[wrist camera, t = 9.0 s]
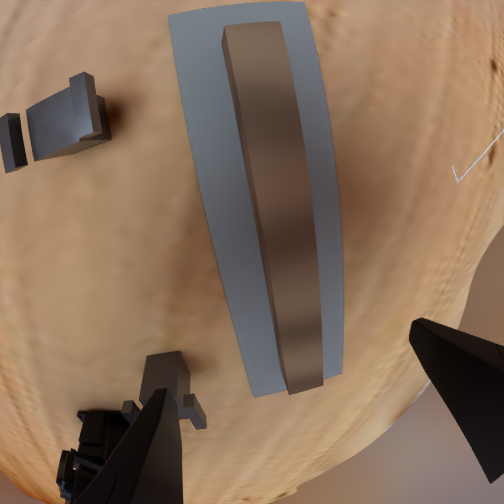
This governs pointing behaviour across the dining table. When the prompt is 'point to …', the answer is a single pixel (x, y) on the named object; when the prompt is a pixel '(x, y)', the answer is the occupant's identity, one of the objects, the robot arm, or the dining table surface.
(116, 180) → the dining table surface
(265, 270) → the rail
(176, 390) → the dark brown blocks
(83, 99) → the grey block
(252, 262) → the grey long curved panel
